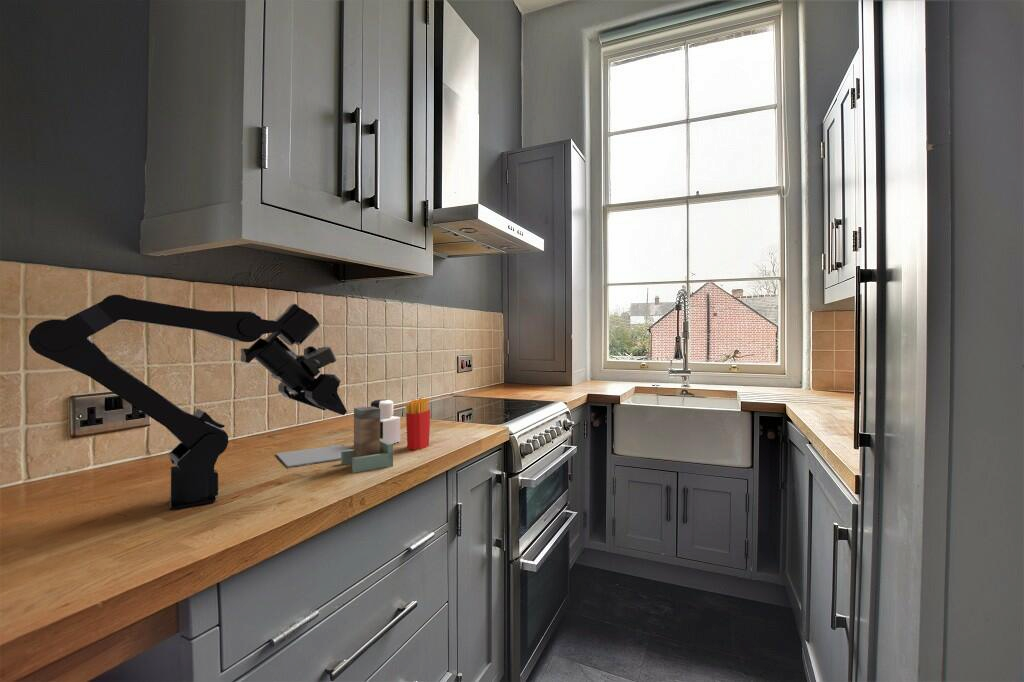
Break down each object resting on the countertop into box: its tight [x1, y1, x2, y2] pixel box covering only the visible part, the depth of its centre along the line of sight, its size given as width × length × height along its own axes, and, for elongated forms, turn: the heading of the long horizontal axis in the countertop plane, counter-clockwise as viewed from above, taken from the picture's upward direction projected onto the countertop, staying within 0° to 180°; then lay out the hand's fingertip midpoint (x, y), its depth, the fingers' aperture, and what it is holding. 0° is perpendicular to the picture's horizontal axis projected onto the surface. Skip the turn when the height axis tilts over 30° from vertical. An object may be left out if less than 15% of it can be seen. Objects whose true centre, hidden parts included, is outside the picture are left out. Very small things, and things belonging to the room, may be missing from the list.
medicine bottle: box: [370, 399, 401, 445], centre depth 127 cm, size 7×7×12 cm
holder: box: [340, 438, 394, 474], centre depth 105 cm, size 9×9×5 cm
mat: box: [275, 444, 351, 469], centre depth 113 cm, size 16×14×1 cm
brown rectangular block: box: [353, 406, 380, 457], centre depth 105 cm, size 4×4×13 cm
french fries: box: [405, 397, 431, 451], centre depth 123 cm, size 9×4×13 cm, turn 160°
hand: (335, 411), depth 100 cm, fingers open, 9 cm apart
